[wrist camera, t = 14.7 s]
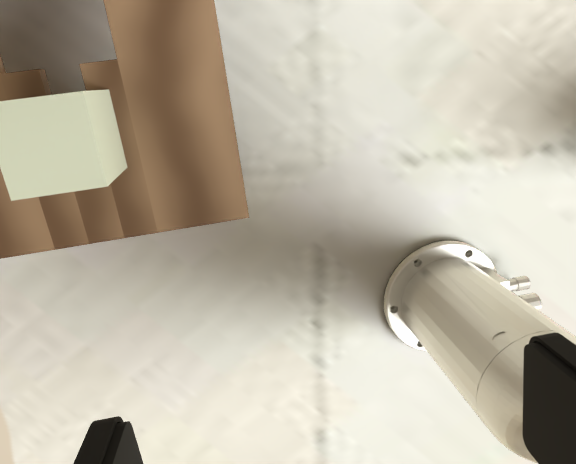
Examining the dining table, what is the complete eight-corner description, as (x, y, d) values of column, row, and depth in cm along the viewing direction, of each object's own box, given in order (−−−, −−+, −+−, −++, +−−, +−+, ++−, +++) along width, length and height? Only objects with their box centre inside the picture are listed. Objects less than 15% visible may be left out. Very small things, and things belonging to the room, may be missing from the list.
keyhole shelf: (196, -91, 35) (189, -155, 25) (241, 187, 42) (249, 217, 33) (-82, -65, 33) (-201, -124, 23) (16, 222, 40) (-45, 265, 31)
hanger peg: (128, 88, 35) (82, 91, 23) (143, 152, 37) (107, 186, 25) (62, 96, 35) (-21, 103, 23) (79, 161, 36) (11, 200, 24)
